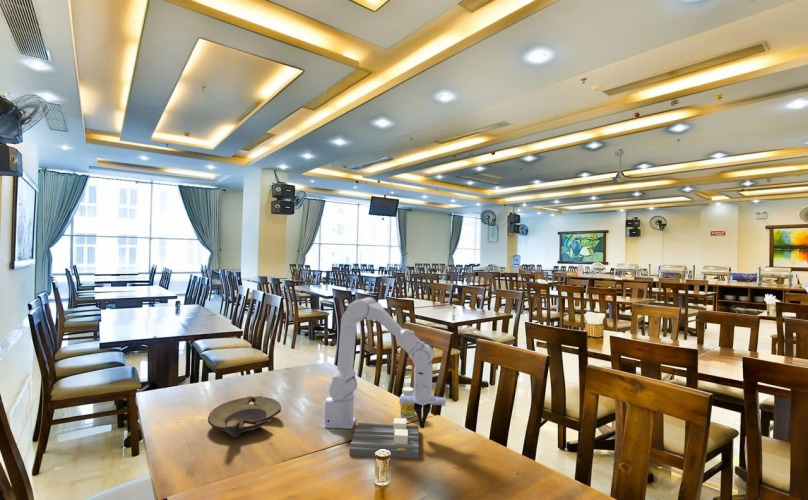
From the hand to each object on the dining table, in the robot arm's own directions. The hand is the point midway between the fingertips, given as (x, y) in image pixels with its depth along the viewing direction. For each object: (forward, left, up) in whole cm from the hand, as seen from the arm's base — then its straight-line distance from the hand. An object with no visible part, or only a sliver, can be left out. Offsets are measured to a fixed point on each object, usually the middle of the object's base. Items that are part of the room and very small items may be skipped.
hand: (422, 426), depth 126 cm
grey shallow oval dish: (-60, +2, -4) cm, 60 cm away
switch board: (-11, -4, -3) cm, 12 cm away
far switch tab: (-7, 0, -1) cm, 7 cm away
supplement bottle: (-5, +17, -4) cm, 18 cm away
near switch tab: (-6, -8, -1) cm, 10 cm away
